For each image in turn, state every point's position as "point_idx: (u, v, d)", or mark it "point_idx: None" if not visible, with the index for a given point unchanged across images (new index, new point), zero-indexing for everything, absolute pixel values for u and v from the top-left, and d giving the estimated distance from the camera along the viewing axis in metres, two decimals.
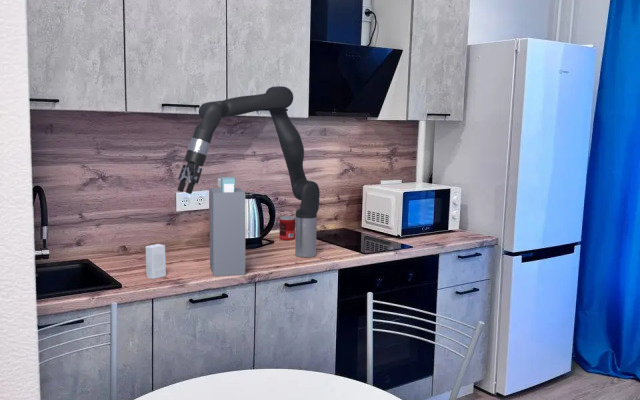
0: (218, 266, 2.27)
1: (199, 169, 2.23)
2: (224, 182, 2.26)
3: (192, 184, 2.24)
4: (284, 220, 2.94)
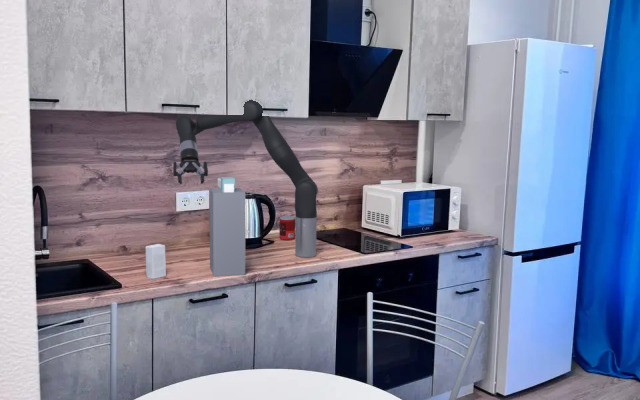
0: (218, 266, 2.27)
1: None
2: (224, 182, 2.26)
3: (177, 176, 2.49)
4: (284, 220, 2.94)
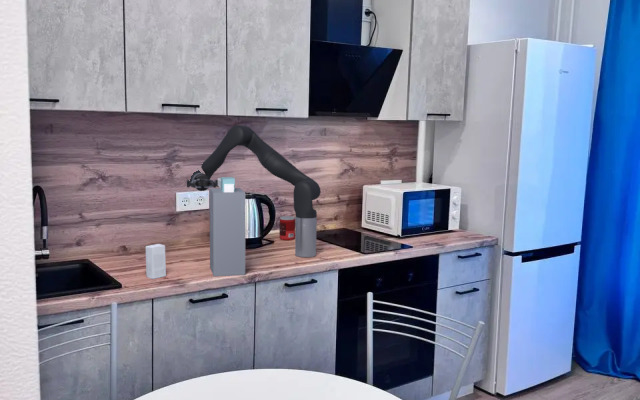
0: (218, 266, 2.27)
1: None
2: (224, 182, 2.26)
3: None
4: (284, 220, 2.94)
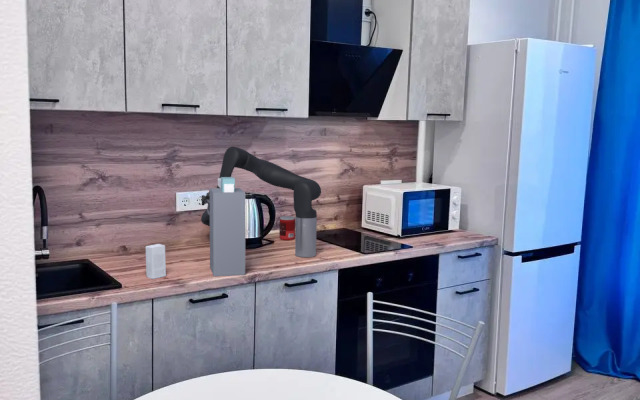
0: (218, 266, 2.27)
1: None
2: (224, 182, 2.26)
3: (206, 197, 2.56)
4: (284, 220, 2.94)
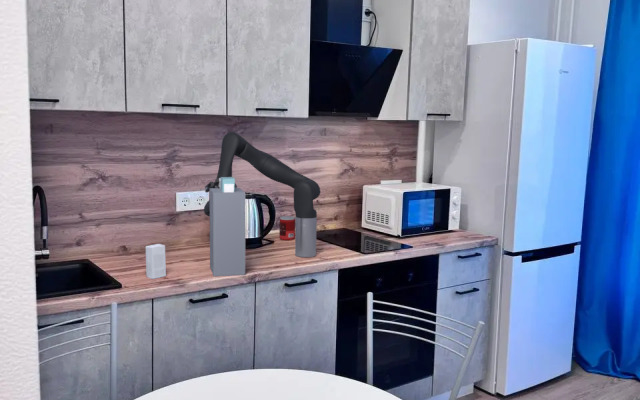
0: (218, 266, 2.27)
1: (205, 188, 2.47)
2: (224, 182, 2.26)
3: (214, 183, 2.43)
4: (284, 220, 2.94)
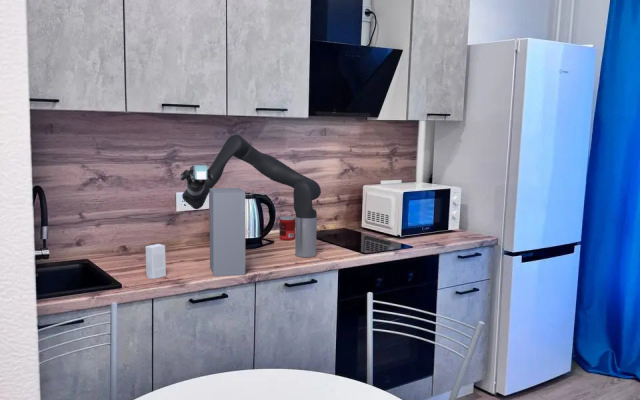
0: (218, 266, 2.27)
1: (181, 176, 2.54)
2: (196, 169, 2.32)
3: (189, 171, 2.50)
4: (284, 220, 2.94)
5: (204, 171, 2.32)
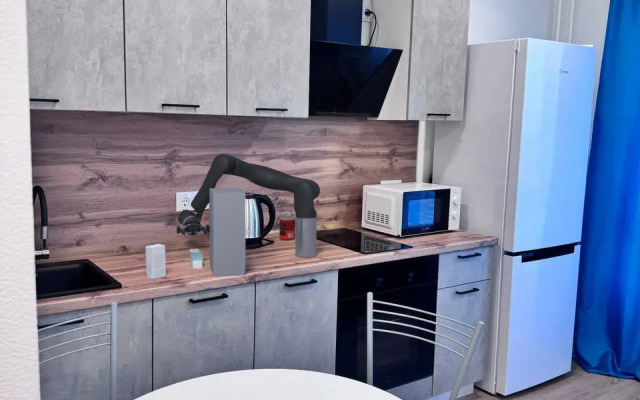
0: (218, 266, 2.27)
1: None
2: (193, 259, 2.39)
3: (181, 231, 2.52)
4: (284, 220, 2.94)
5: (200, 260, 2.40)
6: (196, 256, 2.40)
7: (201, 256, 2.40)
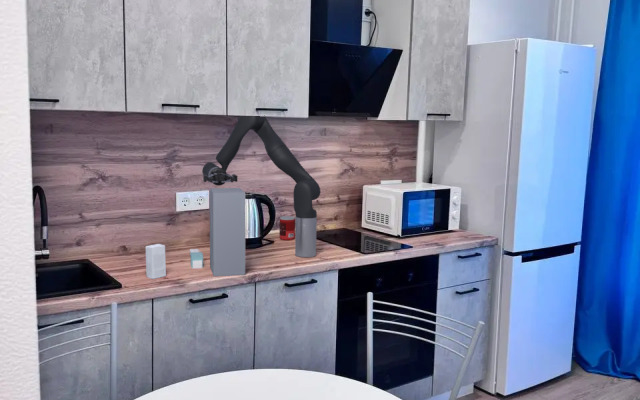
0: (218, 266, 2.27)
1: None
2: (193, 259, 2.39)
3: (208, 179, 2.51)
4: (284, 220, 2.94)
5: (200, 260, 2.40)
6: (196, 256, 2.40)
7: (201, 256, 2.40)
